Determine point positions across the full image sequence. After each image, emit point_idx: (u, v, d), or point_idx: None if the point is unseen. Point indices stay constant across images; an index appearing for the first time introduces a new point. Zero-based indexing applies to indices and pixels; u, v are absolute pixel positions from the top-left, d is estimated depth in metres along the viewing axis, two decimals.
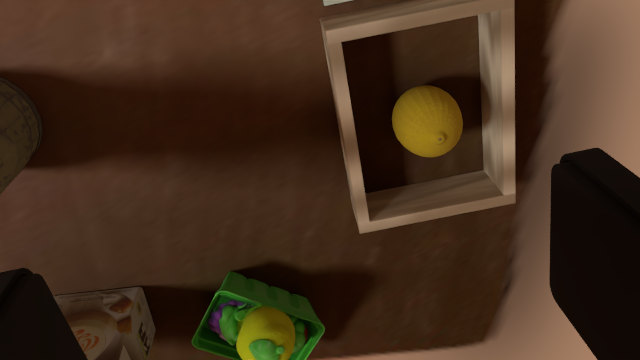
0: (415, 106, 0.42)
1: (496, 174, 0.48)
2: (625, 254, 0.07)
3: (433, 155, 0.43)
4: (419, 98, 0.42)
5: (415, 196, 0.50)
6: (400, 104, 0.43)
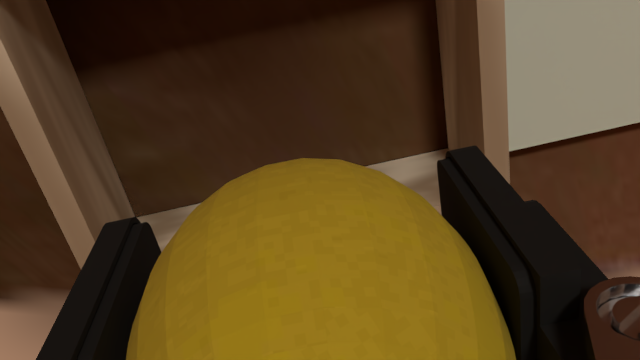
0: (498, 356, 0.06)
1: None
2: (477, 240, 0.08)
3: None
4: (509, 341, 0.07)
5: (61, 94, 0.21)
6: (424, 217, 0.07)
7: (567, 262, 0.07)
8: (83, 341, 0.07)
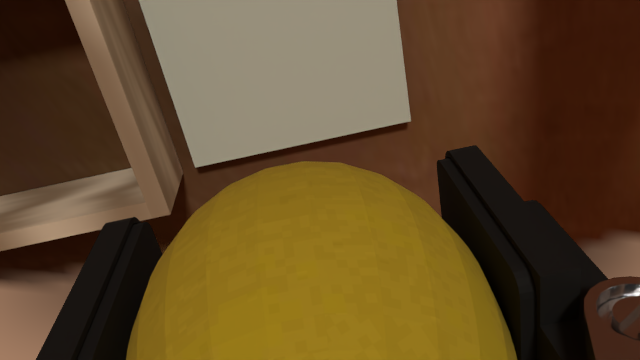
0: None
1: None
2: (477, 240, 0.08)
3: None
4: (511, 347, 0.07)
5: None
6: (426, 221, 0.07)
7: (568, 262, 0.07)
8: (83, 341, 0.07)
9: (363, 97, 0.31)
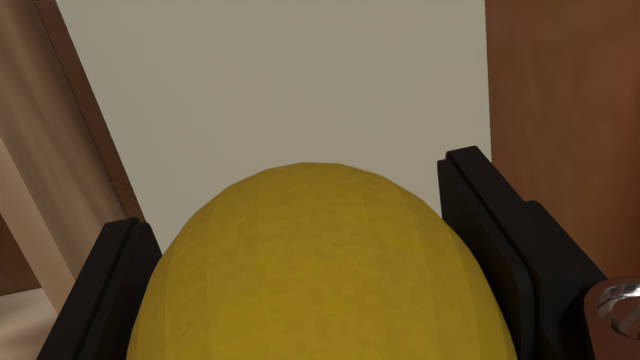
0: None
1: None
2: (477, 240, 0.08)
3: None
4: (511, 348, 0.07)
5: None
6: (426, 222, 0.07)
7: (567, 262, 0.07)
8: (83, 341, 0.07)
9: (425, 186, 0.20)
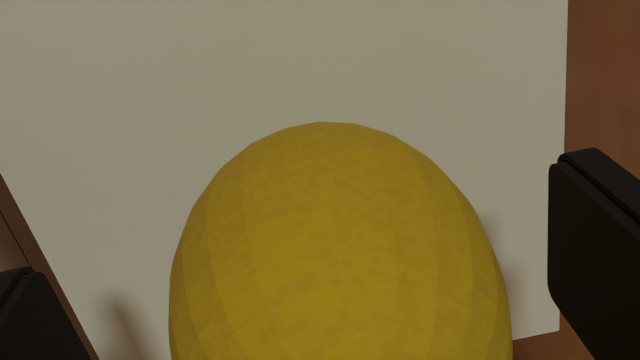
0: (489, 275, 0.07)
1: None
2: (621, 254, 0.07)
3: None
4: (499, 270, 0.08)
5: None
6: (426, 167, 0.08)
7: None
8: None
9: None
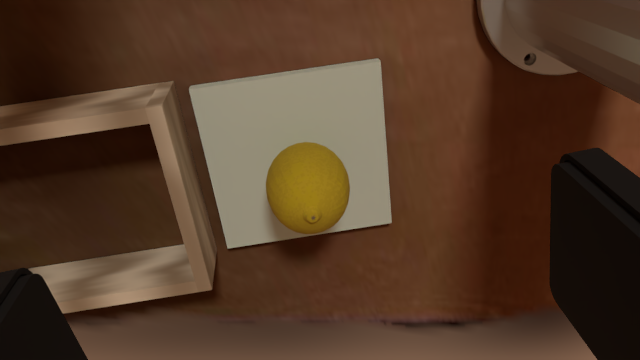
0: (341, 179, 0.34)
1: None
2: (625, 254, 0.07)
3: (280, 207, 0.33)
4: (346, 180, 0.34)
5: None
6: (332, 155, 0.35)
7: None
8: None
9: (357, 205, 0.41)
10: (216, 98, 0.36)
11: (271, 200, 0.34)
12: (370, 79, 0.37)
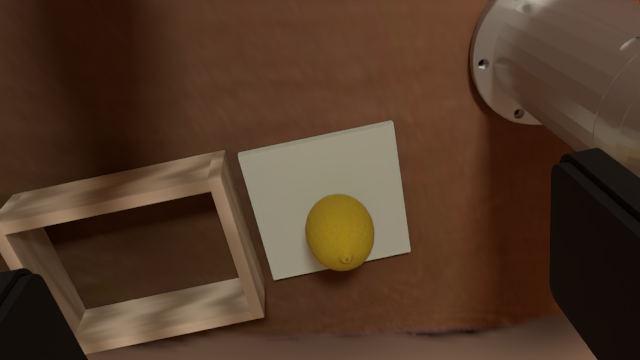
0: (367, 225, 0.41)
1: (88, 332, 0.48)
2: (625, 254, 0.07)
3: (319, 252, 0.41)
4: (371, 225, 0.42)
5: (44, 263, 0.45)
6: (358, 205, 0.42)
7: None
8: None
9: (381, 239, 0.49)
10: (260, 162, 0.44)
11: (311, 246, 0.42)
12: (386, 138, 0.44)
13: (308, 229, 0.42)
